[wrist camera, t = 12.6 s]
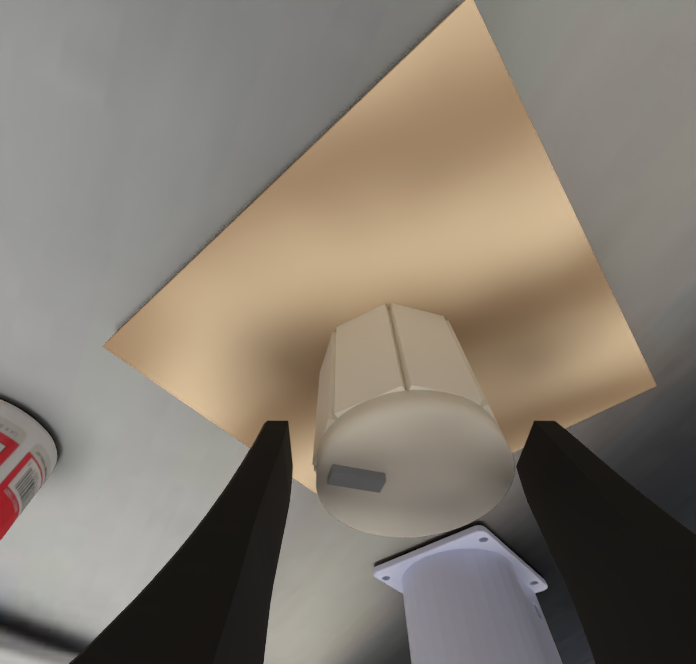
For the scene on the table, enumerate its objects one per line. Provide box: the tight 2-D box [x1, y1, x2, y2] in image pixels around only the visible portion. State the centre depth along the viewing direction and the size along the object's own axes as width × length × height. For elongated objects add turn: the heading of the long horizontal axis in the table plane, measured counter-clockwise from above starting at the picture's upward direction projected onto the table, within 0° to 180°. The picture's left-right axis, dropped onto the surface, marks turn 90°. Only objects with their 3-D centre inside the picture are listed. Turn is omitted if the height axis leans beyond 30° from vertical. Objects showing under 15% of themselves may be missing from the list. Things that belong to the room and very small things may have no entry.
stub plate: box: [102, 0, 657, 495], centre depth 14 cm, size 15×15×1 cm
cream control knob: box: [312, 303, 515, 538], centre depth 12 cm, size 5×5×5 cm
